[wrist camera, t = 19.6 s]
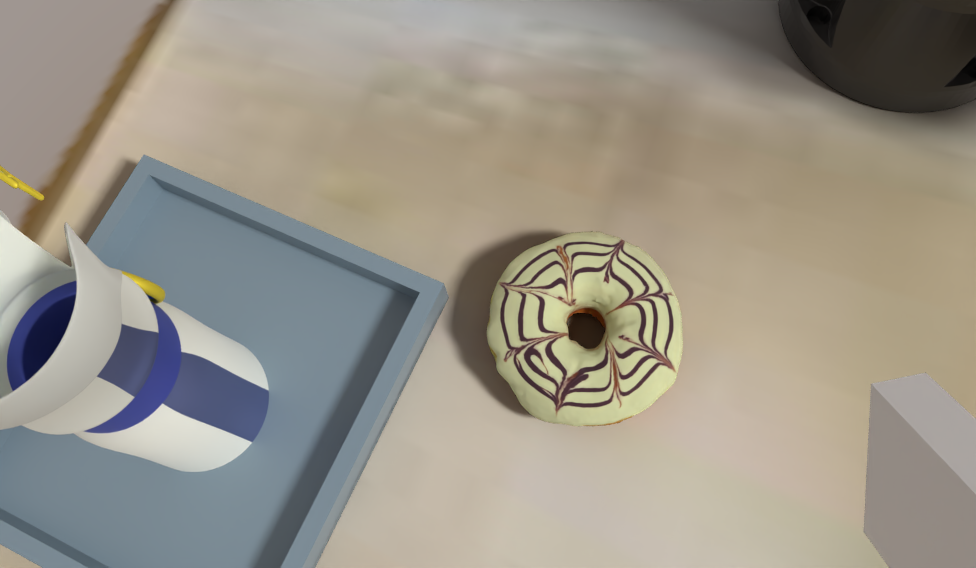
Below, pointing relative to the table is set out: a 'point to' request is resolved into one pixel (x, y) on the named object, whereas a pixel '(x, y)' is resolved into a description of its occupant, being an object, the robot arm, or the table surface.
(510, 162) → the table surface
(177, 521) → the blue-gray tray
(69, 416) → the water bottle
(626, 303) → the decorated donut
